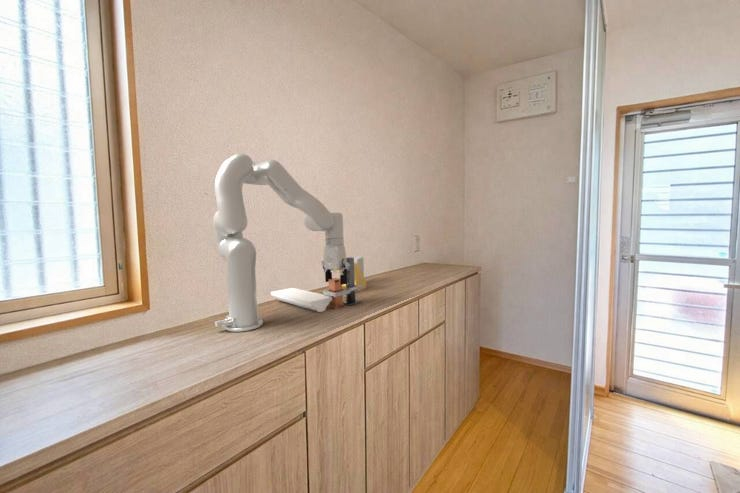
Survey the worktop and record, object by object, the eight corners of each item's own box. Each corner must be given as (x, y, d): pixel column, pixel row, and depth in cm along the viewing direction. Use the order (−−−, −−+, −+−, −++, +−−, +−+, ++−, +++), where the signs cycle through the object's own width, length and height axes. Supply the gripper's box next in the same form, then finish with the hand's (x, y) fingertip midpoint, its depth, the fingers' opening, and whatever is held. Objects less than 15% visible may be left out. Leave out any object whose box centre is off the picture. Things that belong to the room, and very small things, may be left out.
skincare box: (354, 283, 192) (353, 256, 191) (364, 284, 190) (364, 256, 188) (347, 286, 185) (346, 258, 183) (358, 287, 182) (357, 258, 181)
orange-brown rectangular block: (335, 308, 140) (334, 280, 139) (329, 307, 143) (328, 279, 142) (343, 306, 143) (342, 278, 142) (337, 305, 146) (336, 277, 145)
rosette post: (335, 310, 138) (334, 261, 136) (323, 307, 143) (321, 260, 141) (365, 302, 150) (363, 257, 148) (352, 299, 155) (351, 256, 153)
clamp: (346, 296, 162) (345, 263, 161) (330, 294, 166) (329, 262, 165) (366, 288, 180) (365, 258, 178) (351, 286, 184) (350, 257, 183)
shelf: (292, 298, 162) (292, 287, 161) (332, 309, 141) (332, 296, 140) (271, 303, 154) (270, 291, 153) (310, 315, 133) (309, 302, 132)
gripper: (314, 242, 144) (316, 281, 146) (341, 243, 132) (343, 286, 134) (328, 241, 150) (330, 279, 151) (355, 242, 138) (356, 283, 139)
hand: (336, 282), depth 142 cm, fingers open, 9 cm apart
